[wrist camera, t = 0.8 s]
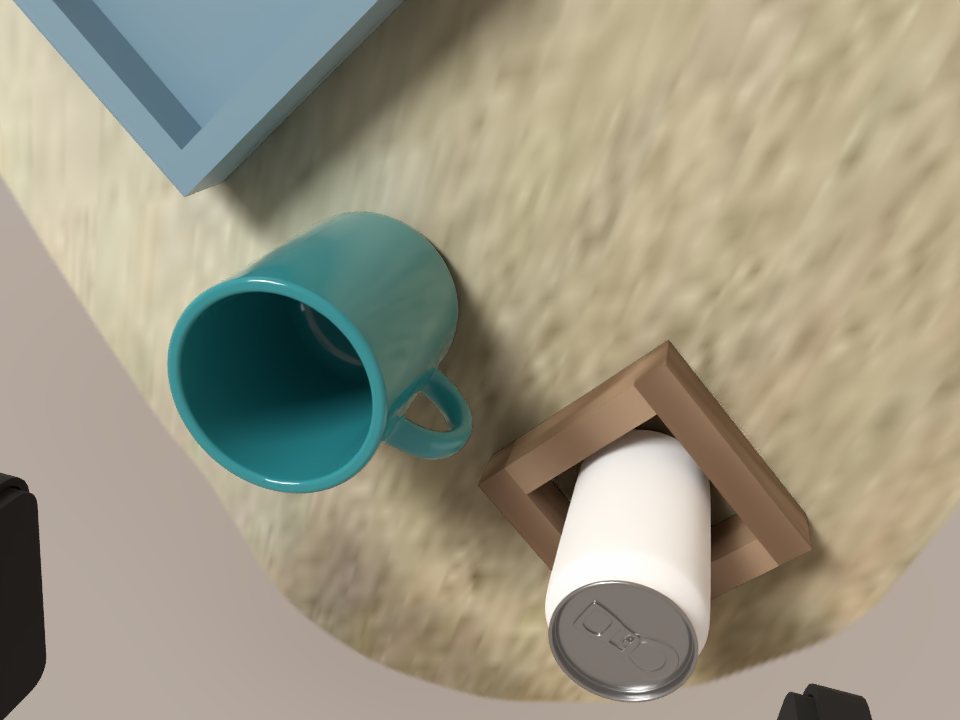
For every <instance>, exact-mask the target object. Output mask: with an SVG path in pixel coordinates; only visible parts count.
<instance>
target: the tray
mask: <svg viewBox="0 0 960 720" xmlns="http://www.w3.org/2000/svg"><path fill="white" fill-rule="evenodd" d="M13 1H14V2H15V3H16V4H17V6H18V7H19V8H20V9H21V10H22V11H23V12H24V14H25V15H26V16H27V17H28V18H29V19H30V21H31V22H32V23H33V24H34V25H35V26H36V27H37V29H38V30H39V31H40V32H41V33H42V34H43V35H44V37H45V38H46V39H47V40H48V41H49V42H50V43H51V45H52V46H53V47H54V48H55V49H56V50H57V51H58V53H59V54H60V55H61V56H62V57H63V58H64V60H65V61H66V62H67V63H68V64H69V65H70V66H71V68H72V69H73V70H74V71H75V72H76V73H77V74H78V76H79V77H80V78H81V79H82V80H83V81H84V82H85V84H86V85H87V86H88V87H89V88H90V89H91V91H92V92H93V93H94V94H95V95H96V96H97V97H98V99H99V100H100V101H101V102H102V103H103V104H104V105H105V107H106V108H107V109H108V110H109V111H110V112H111V113H112V115H113V116H114V117H115V118H116V119H117V120H118V121H119V123H120V124H121V125H122V126H123V127H124V128H125V130H126V131H127V132H128V133H129V134H130V135H131V136H132V138H133V139H134V140H135V141H136V142H137V143H138V144H139V146H140V147H141V148H142V149H143V150H144V151H145V152H146V154H147V155H148V156H149V157H150V158H151V159H152V160H153V162H154V163H155V164H156V165H157V166H158V167H159V169H160V170H161V171H162V172H163V173H164V174H165V175H166V177H167V178H168V179H169V180H170V181H171V182H172V183H173V185H174V186H175V187H176V188H177V189H178V190H179V191H180V193H181V194H182V195H183V196H184V197H186V196H189V195H191V194H194V193H196V192H199V191H201V190H204V189H206V188H209V187H211V186H214V185H216V184H219V183H221V182H223V181H224V180H225V179H226V178H227V177H228V176H229V175H230V174H231V173H232V172H233V171H234V170H235V169H236V168H237V167H238V166H239V165H240V164H241V163H242V162H243V161H244V160H245V159H246V158H247V157H248V156H249V155H250V154H251V153H252V152H253V151H254V150H255V149H256V148H257V147H258V146H259V145H260V144H261V143H262V142H263V141H264V140H265V139H266V138H267V137H268V136H269V135H270V134H271V133H272V132H273V131H274V130H275V129H276V128H277V127H278V126H279V125H280V124H281V123H282V122H283V121H284V120H285V119H286V118H287V117H288V116H289V115H290V114H291V113H292V112H293V111H294V110H295V109H296V108H297V107H298V106H299V105H300V104H301V103H302V102H303V101H304V100H305V99H306V98H307V97H308V96H309V95H310V94H311V93H312V92H313V91H314V90H315V89H316V88H317V87H318V86H319V85H320V84H321V83H322V82H323V81H324V80H325V79H326V78H327V77H328V76H329V75H330V74H331V73H332V72H333V71H334V70H335V69H336V68H337V67H338V66H339V65H340V64H341V63H342V62H343V61H344V60H345V59H346V58H347V57H348V56H349V55H350V54H351V53H352V52H353V51H354V50H355V49H356V48H357V47H358V46H359V45H360V44H361V43H362V42H363V41H364V40H365V39H366V38H367V37H368V36H369V35H370V34H371V33H372V32H373V31H374V30H375V29H376V28H377V27H378V26H379V25H380V24H381V23H382V22H383V21H384V20H385V19H386V18H387V17H388V16H389V15H390V14H391V13H392V12H393V11H394V10H395V9H396V8H397V7H398V6H399V5H400V4H401V3H402V2H403V1H404V0H13Z"/></svg>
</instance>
